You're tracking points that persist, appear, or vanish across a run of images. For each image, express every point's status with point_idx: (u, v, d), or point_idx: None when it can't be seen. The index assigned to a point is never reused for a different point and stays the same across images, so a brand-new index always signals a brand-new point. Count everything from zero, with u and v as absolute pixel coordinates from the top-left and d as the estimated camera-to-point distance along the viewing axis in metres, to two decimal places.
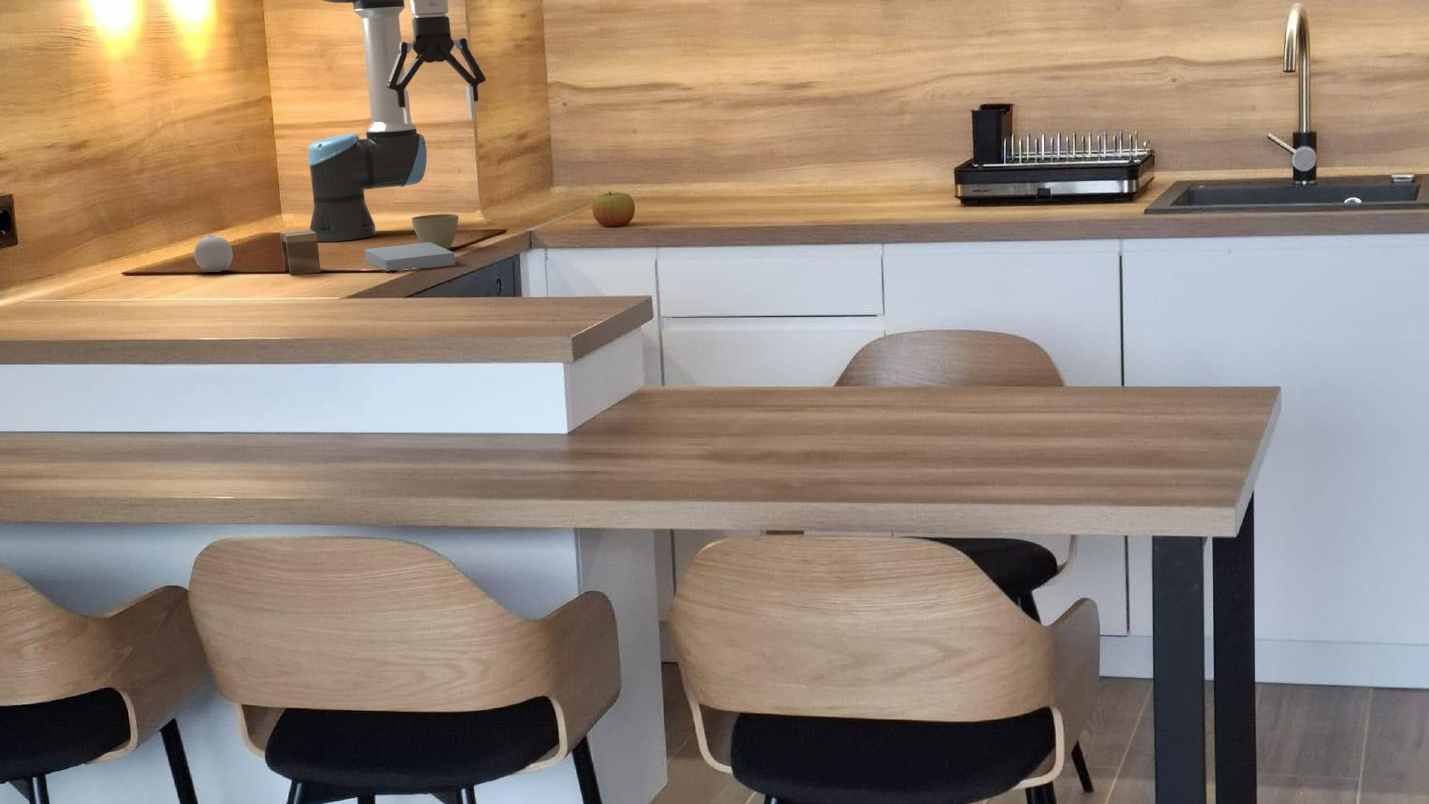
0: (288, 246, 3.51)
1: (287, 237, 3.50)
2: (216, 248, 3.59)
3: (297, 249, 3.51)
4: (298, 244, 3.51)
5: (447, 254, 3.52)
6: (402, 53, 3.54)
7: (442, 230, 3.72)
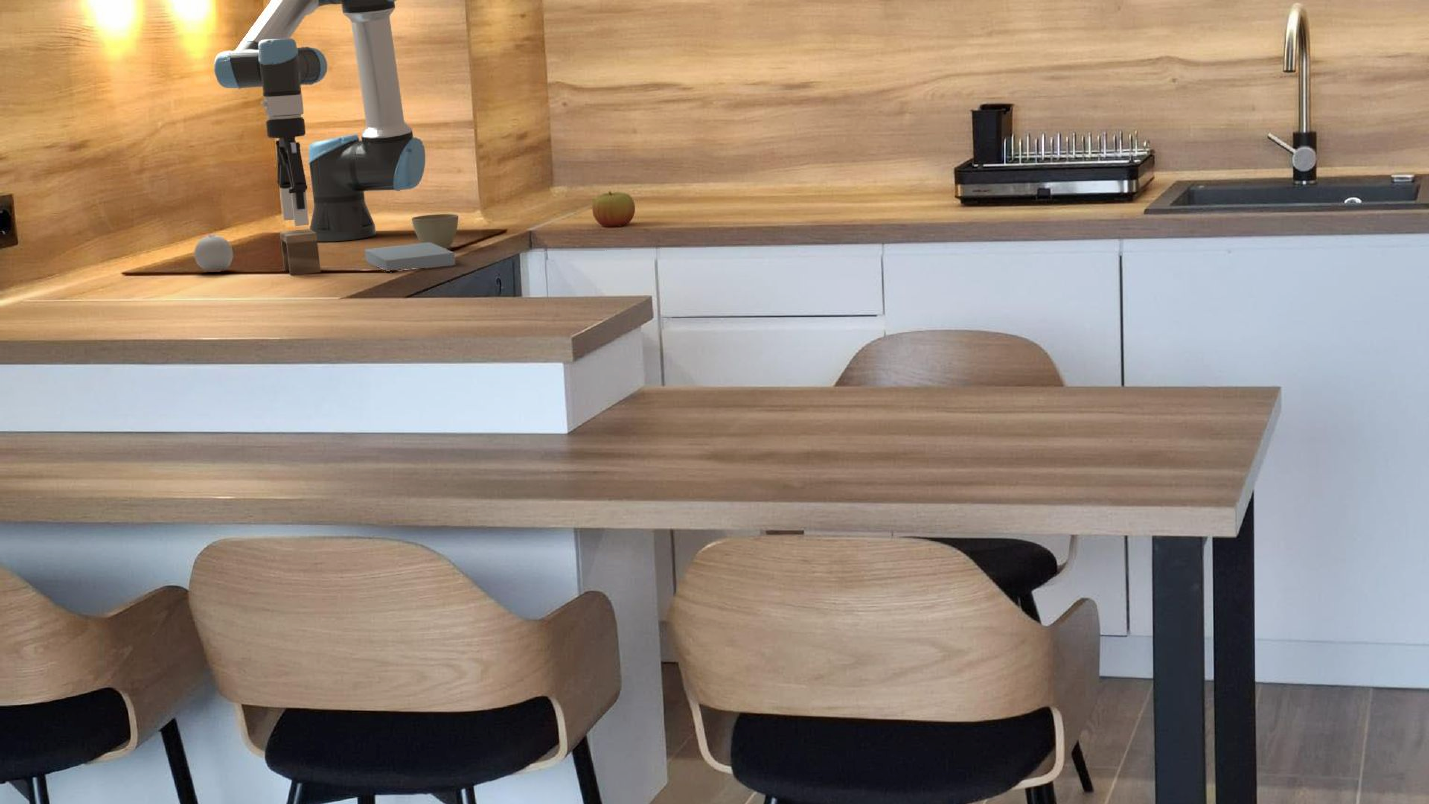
0: (288, 246, 3.51)
1: (287, 237, 3.50)
2: (216, 248, 3.59)
3: (297, 249, 3.51)
4: (298, 244, 3.51)
5: (447, 254, 3.52)
6: None
7: (442, 230, 3.72)
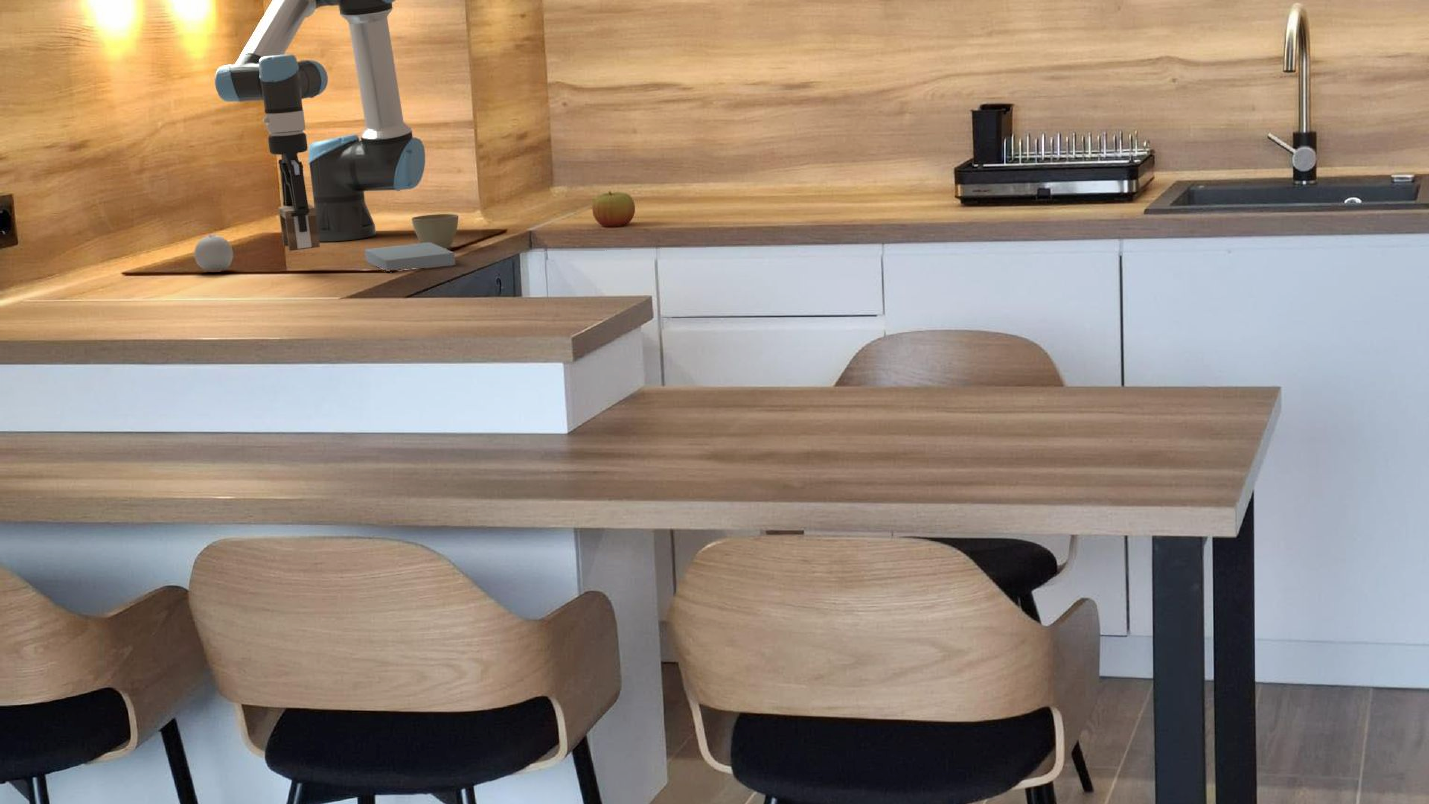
0: (287, 221, 3.50)
1: (286, 212, 3.50)
2: (216, 248, 3.59)
3: None
4: None
5: (447, 254, 3.52)
6: (280, 171, 3.57)
7: (442, 230, 3.72)
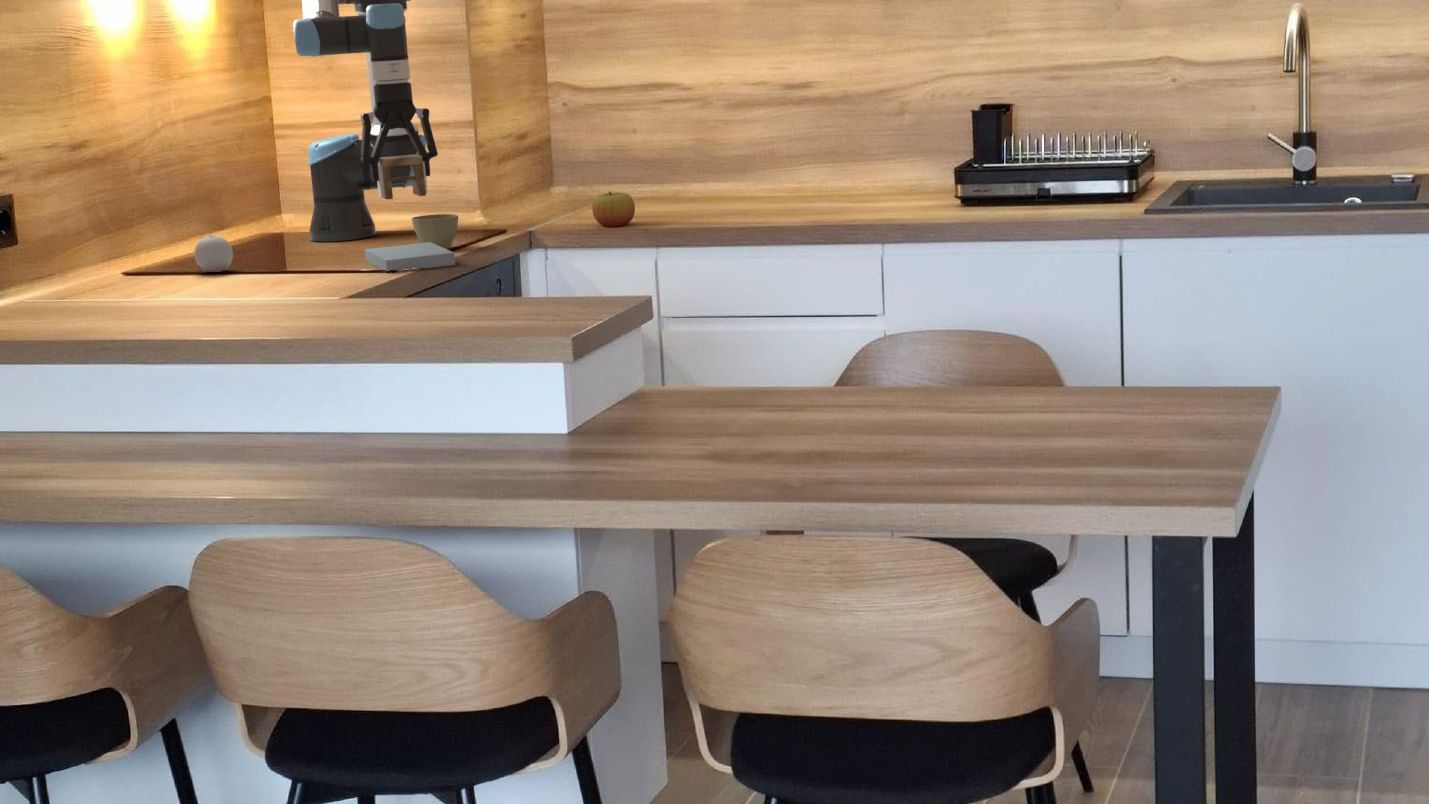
0: (422, 166, 3.53)
1: None
2: (216, 248, 3.59)
3: None
4: None
5: (447, 254, 3.52)
6: (366, 125, 3.49)
7: (442, 230, 3.72)
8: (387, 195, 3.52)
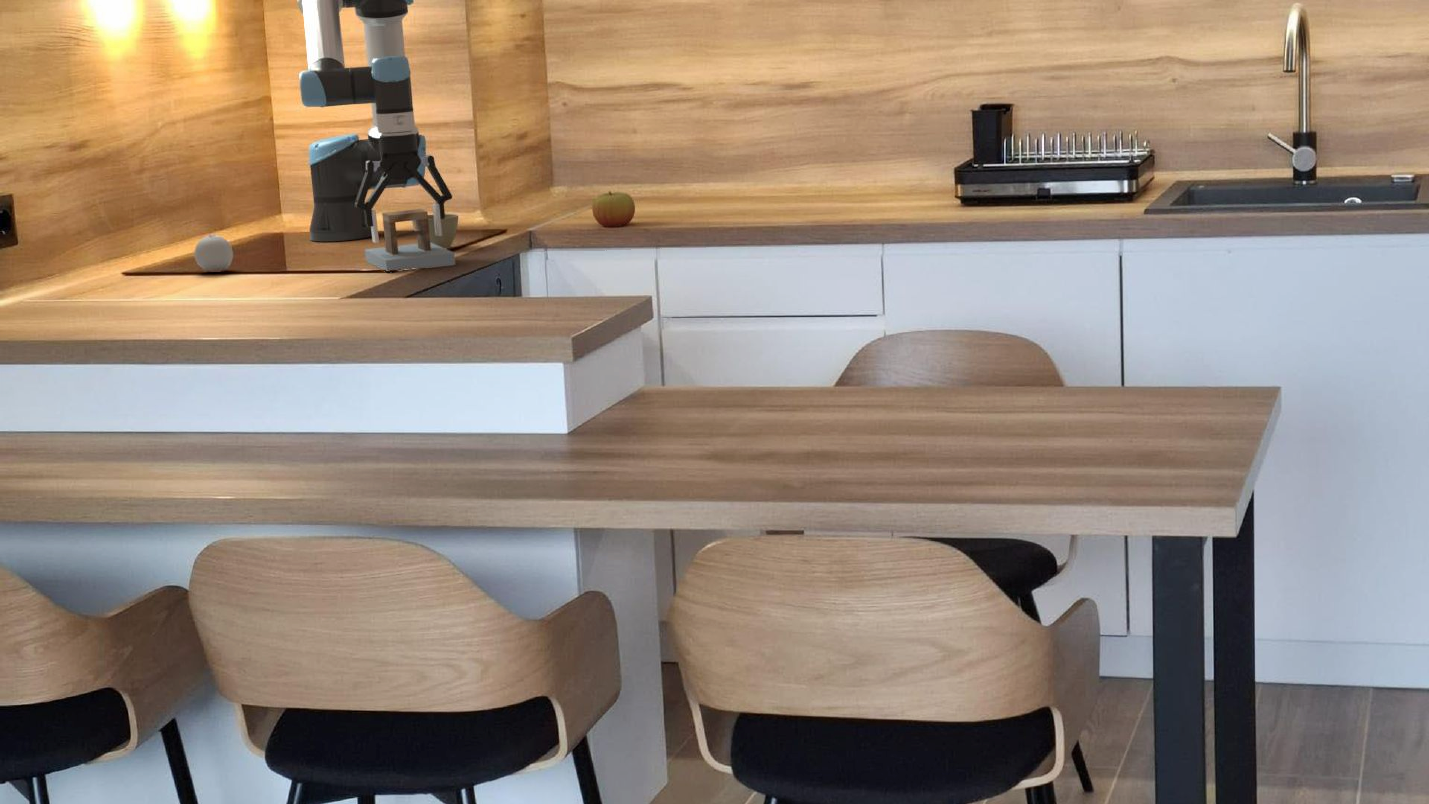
0: (427, 221, 3.56)
1: (427, 213, 3.56)
2: (216, 248, 3.59)
3: None
4: None
5: (447, 254, 3.52)
6: (369, 172, 3.51)
7: (442, 230, 3.72)
8: (393, 250, 3.54)
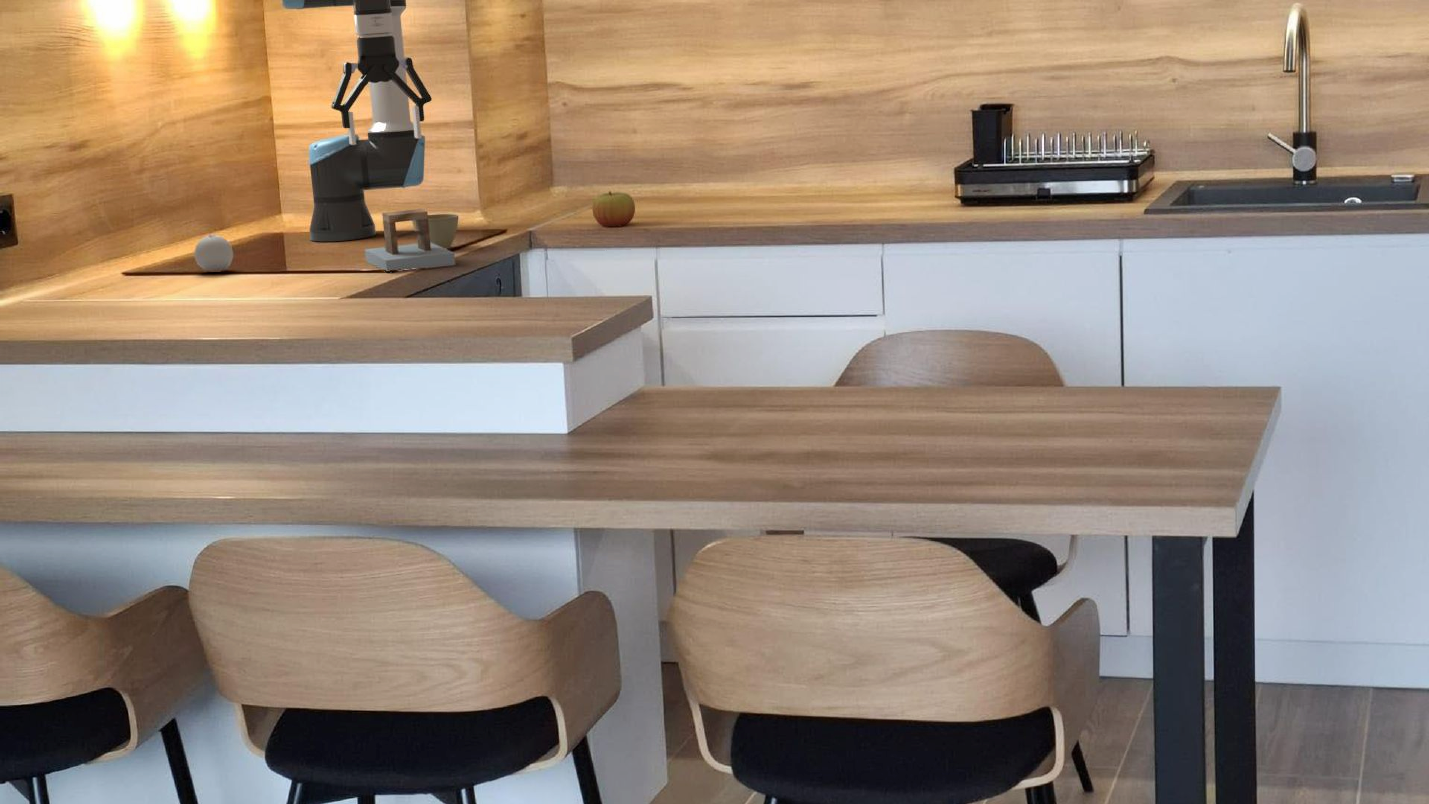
0: (427, 221, 3.56)
1: (427, 213, 3.56)
2: (216, 248, 3.59)
3: None
4: None
5: (447, 254, 3.52)
6: (346, 74, 3.50)
7: (442, 230, 3.72)
8: (393, 250, 3.54)
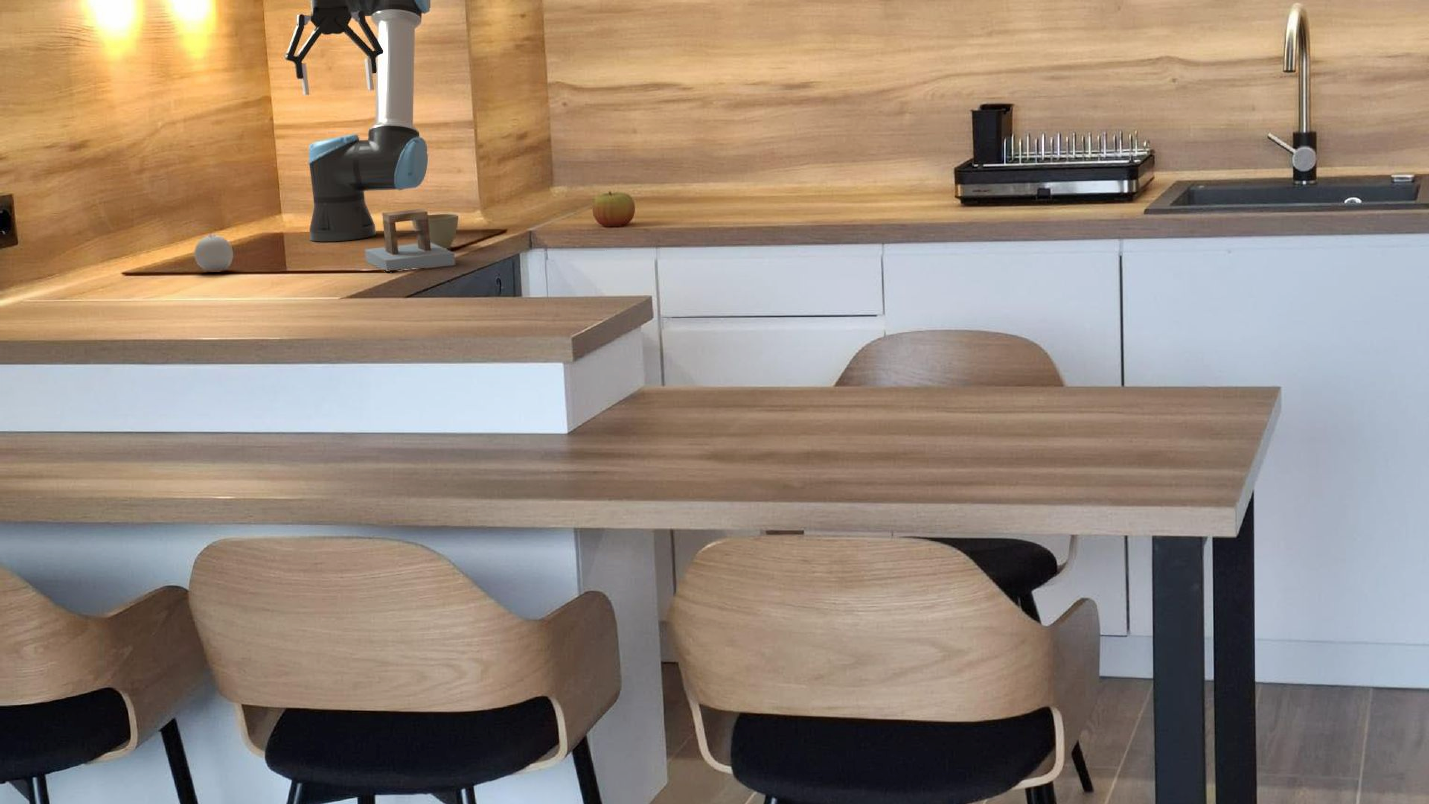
0: (427, 221, 3.56)
1: (427, 213, 3.56)
2: (216, 248, 3.59)
3: None
4: None
5: (447, 254, 3.52)
6: (299, 25, 3.60)
7: (442, 230, 3.72)
8: (393, 250, 3.54)
